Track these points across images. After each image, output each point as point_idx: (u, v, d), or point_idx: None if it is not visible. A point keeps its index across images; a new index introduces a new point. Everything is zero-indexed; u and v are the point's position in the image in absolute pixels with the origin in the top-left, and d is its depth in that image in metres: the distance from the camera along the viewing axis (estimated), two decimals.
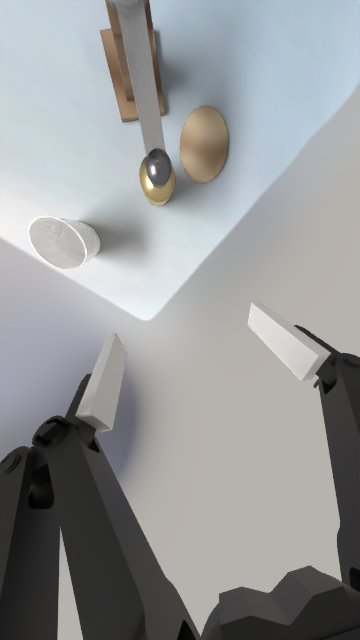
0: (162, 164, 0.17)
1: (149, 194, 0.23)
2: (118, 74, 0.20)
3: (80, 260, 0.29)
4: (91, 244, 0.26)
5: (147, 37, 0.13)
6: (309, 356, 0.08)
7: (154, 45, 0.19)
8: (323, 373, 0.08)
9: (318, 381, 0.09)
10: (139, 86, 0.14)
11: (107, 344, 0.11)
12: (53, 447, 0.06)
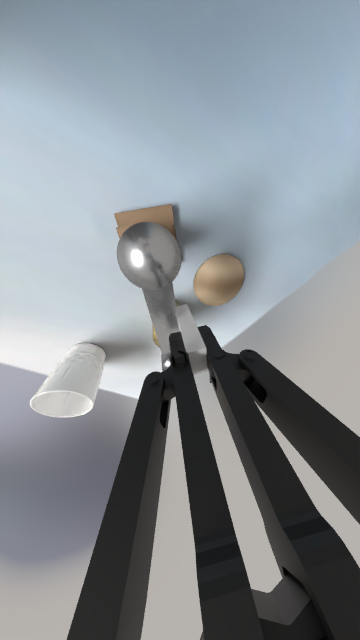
0: None
1: None
2: None
3: None
4: (97, 383, 0.24)
5: (173, 298, 0.12)
6: None
7: (172, 219, 0.18)
8: (209, 371, 0.10)
9: (210, 378, 0.10)
10: (161, 324, 0.13)
11: (179, 312, 0.14)
12: (177, 369, 0.09)
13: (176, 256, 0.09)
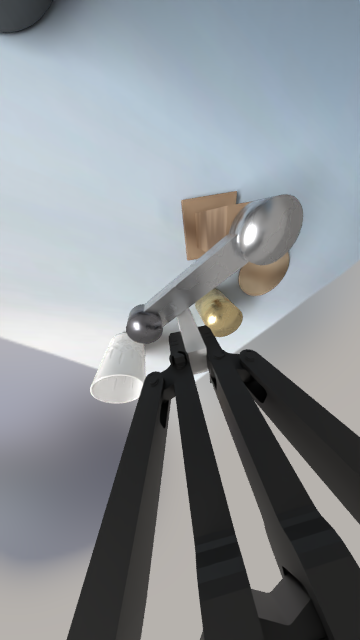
0: (150, 332, 0.13)
1: (213, 333, 0.22)
2: (193, 229, 0.19)
3: None
4: (145, 370, 0.24)
5: (228, 275, 0.11)
6: None
7: None
8: (209, 371, 0.10)
9: (210, 377, 0.10)
10: (194, 280, 0.11)
11: None
12: (177, 369, 0.09)
13: (278, 255, 0.10)
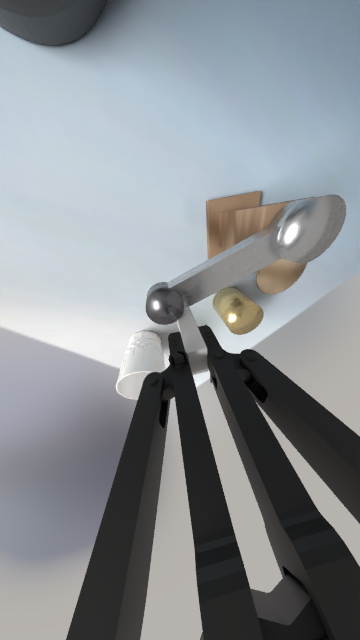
0: (170, 312, 0.12)
1: (234, 331, 0.22)
2: (216, 229, 0.19)
3: None
4: (165, 367, 0.25)
5: (260, 267, 0.12)
6: None
7: (257, 206, 0.18)
8: None
9: (210, 377, 0.10)
10: (228, 265, 0.11)
11: None
12: (176, 370, 0.09)
13: (312, 256, 0.11)
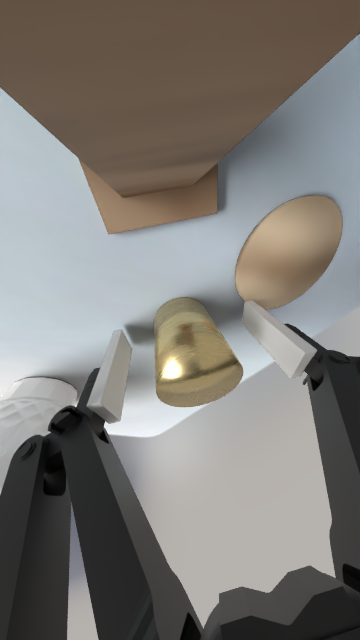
0: None
1: (177, 403, 0.10)
2: None
3: None
4: None
5: None
6: (297, 353, 0.09)
7: None
8: (311, 370, 0.09)
9: (307, 378, 0.09)
10: None
11: (113, 340, 0.12)
12: (66, 435, 0.07)
13: None
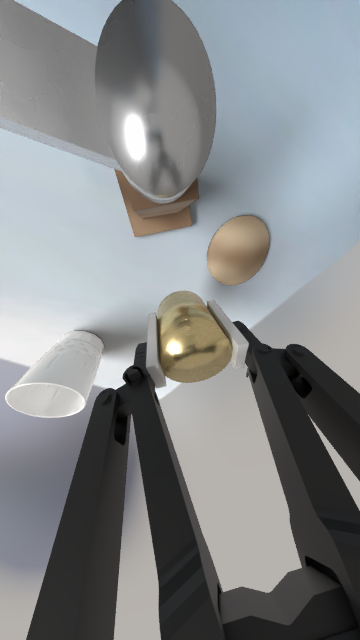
0: None
1: (177, 378, 0.11)
2: None
3: None
4: (92, 376, 0.20)
5: (64, 136, 0.05)
6: (235, 346, 0.10)
7: None
8: (248, 364, 0.10)
9: (247, 371, 0.10)
10: None
11: (151, 321, 0.13)
12: (133, 387, 0.08)
13: (152, 182, 0.06)
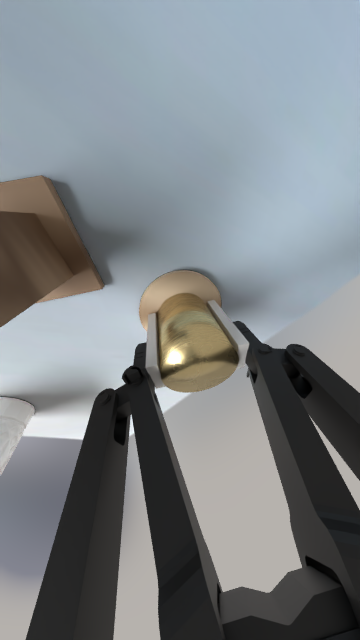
0: None
1: (178, 388, 0.11)
2: None
3: None
4: None
5: None
6: (235, 346, 0.10)
7: (57, 209, 0.09)
8: (249, 364, 0.10)
9: (248, 371, 0.10)
10: None
11: (151, 321, 0.13)
12: (132, 387, 0.08)
13: None
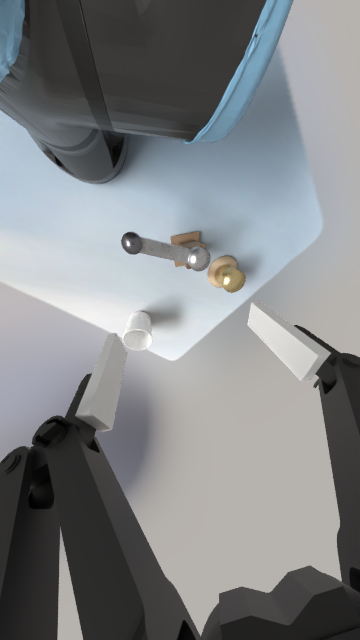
0: (132, 247, 0.23)
1: (227, 289, 0.36)
2: None
3: (140, 336, 0.44)
4: (151, 332, 0.41)
5: (179, 261, 0.26)
6: (309, 356, 0.08)
7: (198, 238, 0.34)
8: (323, 373, 0.08)
9: (318, 381, 0.09)
10: (168, 249, 0.24)
11: (107, 344, 0.11)
12: (53, 447, 0.06)
13: (197, 269, 0.26)
